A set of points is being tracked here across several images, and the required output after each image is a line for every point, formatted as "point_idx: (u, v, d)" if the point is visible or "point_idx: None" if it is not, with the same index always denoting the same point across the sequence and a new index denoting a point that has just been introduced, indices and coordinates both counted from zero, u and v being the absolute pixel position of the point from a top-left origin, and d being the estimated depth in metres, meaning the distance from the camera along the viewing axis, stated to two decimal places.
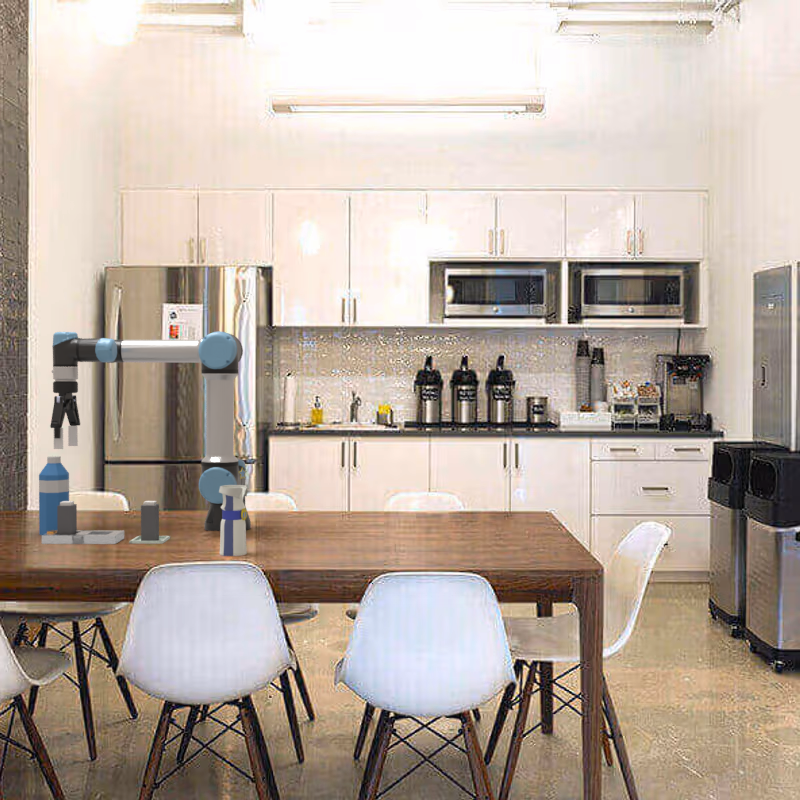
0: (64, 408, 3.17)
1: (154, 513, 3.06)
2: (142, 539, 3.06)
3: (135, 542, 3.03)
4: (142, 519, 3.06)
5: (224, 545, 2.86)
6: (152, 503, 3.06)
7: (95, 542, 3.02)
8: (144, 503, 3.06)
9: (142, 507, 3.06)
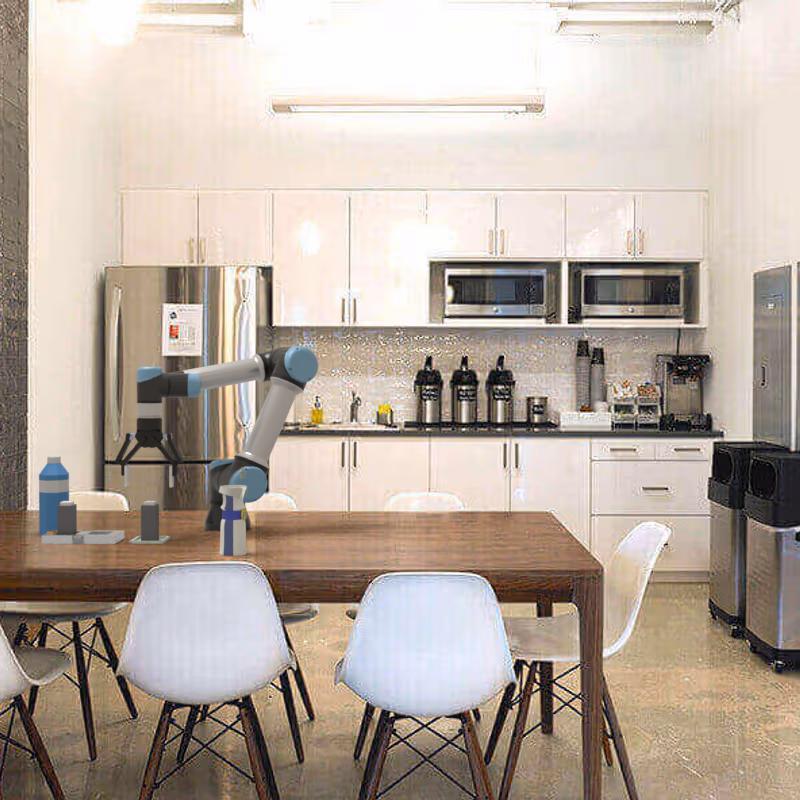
0: (135, 445, 3.06)
1: (154, 513, 3.06)
2: (142, 539, 3.06)
3: (135, 542, 3.03)
4: (142, 519, 3.06)
5: (224, 545, 2.86)
6: (152, 503, 3.06)
7: (95, 542, 3.02)
8: (144, 503, 3.06)
9: (142, 507, 3.06)
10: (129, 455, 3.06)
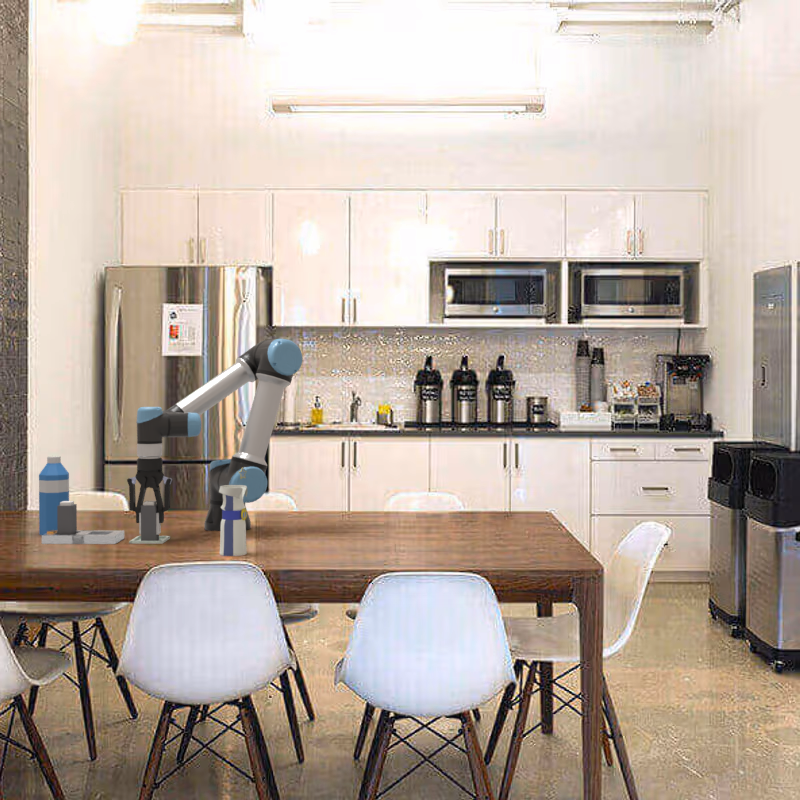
0: None
1: (154, 513, 3.06)
2: (142, 539, 3.06)
3: (135, 542, 3.03)
4: (142, 519, 3.06)
5: (224, 545, 2.86)
6: (152, 503, 3.06)
7: (95, 542, 3.02)
8: (144, 503, 3.06)
9: (142, 507, 3.06)
10: (139, 500, 3.07)
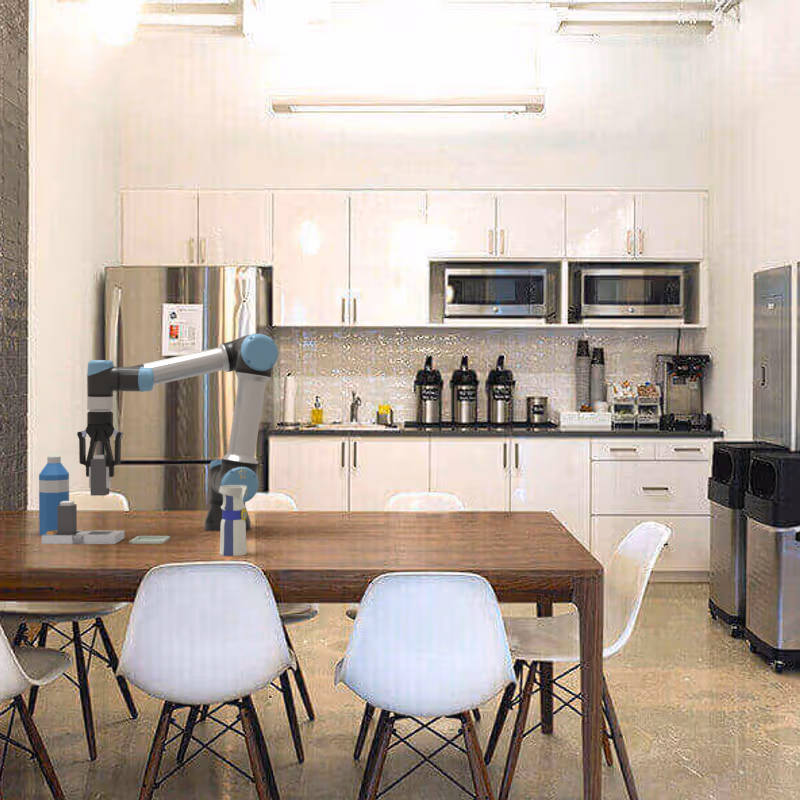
0: None
1: (104, 466, 3.04)
2: (92, 493, 3.05)
3: (135, 542, 3.03)
4: (92, 472, 3.04)
5: (224, 545, 2.86)
6: (102, 457, 3.05)
7: (95, 542, 3.02)
8: (94, 456, 3.05)
9: (92, 460, 3.04)
10: (89, 454, 3.05)
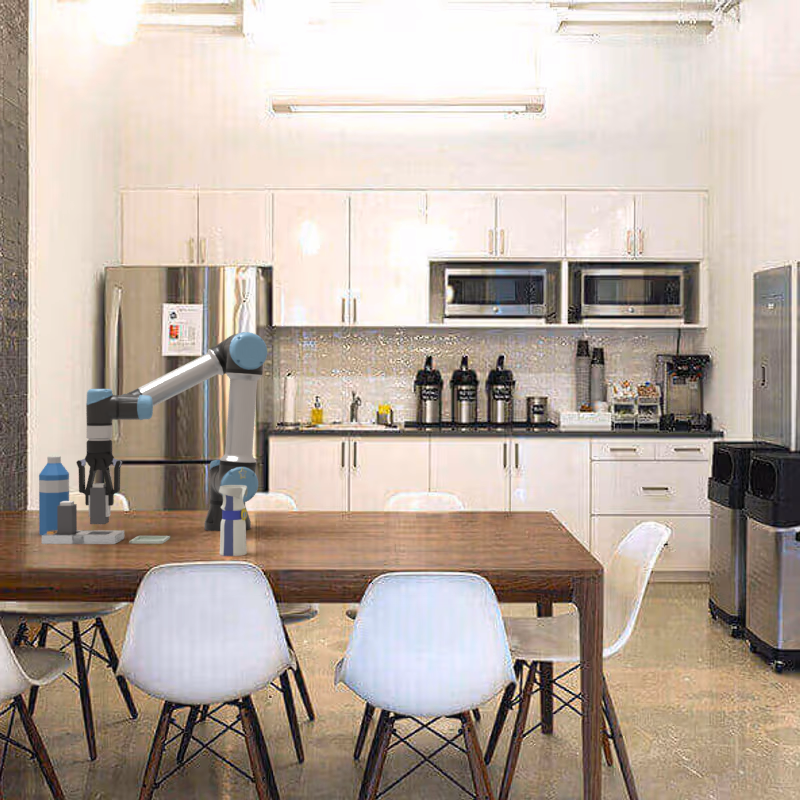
0: None
1: (103, 495, 3.05)
2: (91, 521, 3.05)
3: (135, 542, 3.03)
4: (91, 501, 3.05)
5: (224, 545, 2.86)
6: (101, 485, 3.05)
7: (95, 542, 3.02)
8: (93, 485, 3.05)
9: (91, 489, 3.05)
10: (89, 482, 3.06)
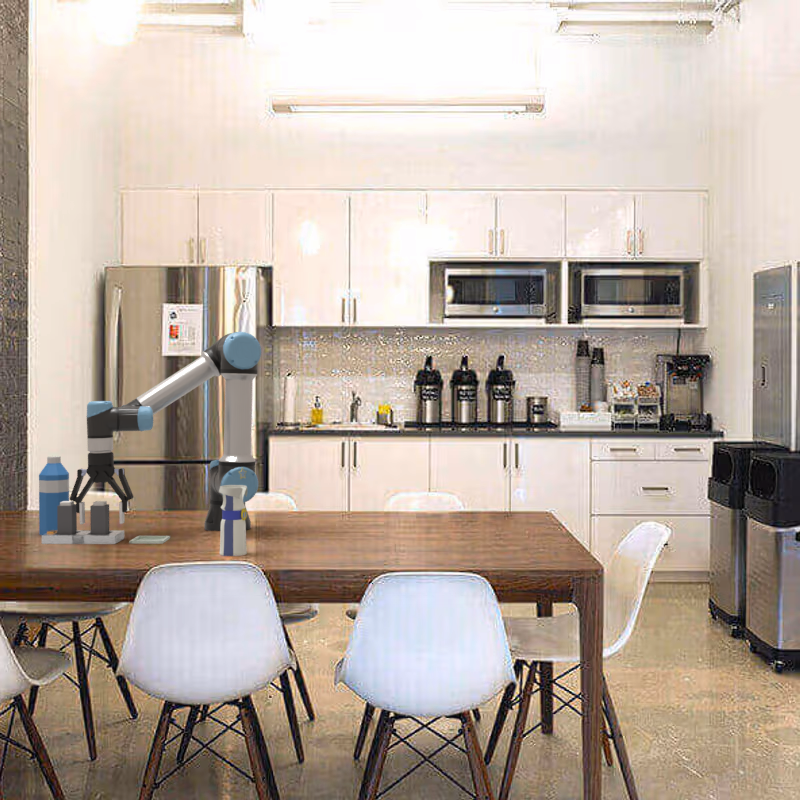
0: (88, 481, 3.06)
1: (104, 513, 3.05)
2: None
3: (135, 542, 3.03)
4: (92, 519, 3.05)
5: (224, 545, 2.86)
6: (102, 503, 3.05)
7: (95, 542, 3.02)
8: (94, 503, 3.05)
9: (92, 507, 3.05)
10: (83, 492, 3.06)
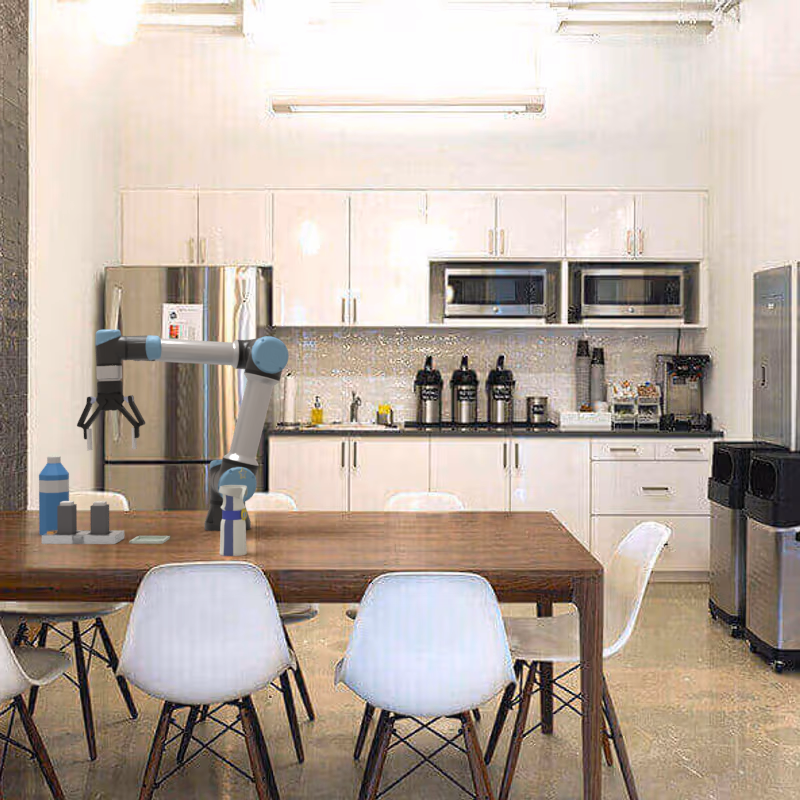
0: (96, 409, 3.08)
1: (104, 513, 3.05)
2: None
3: (135, 542, 3.03)
4: (92, 519, 3.05)
5: (224, 545, 2.86)
6: (102, 503, 3.05)
7: (95, 542, 3.02)
8: (94, 503, 3.05)
9: (92, 507, 3.05)
10: (91, 418, 3.08)
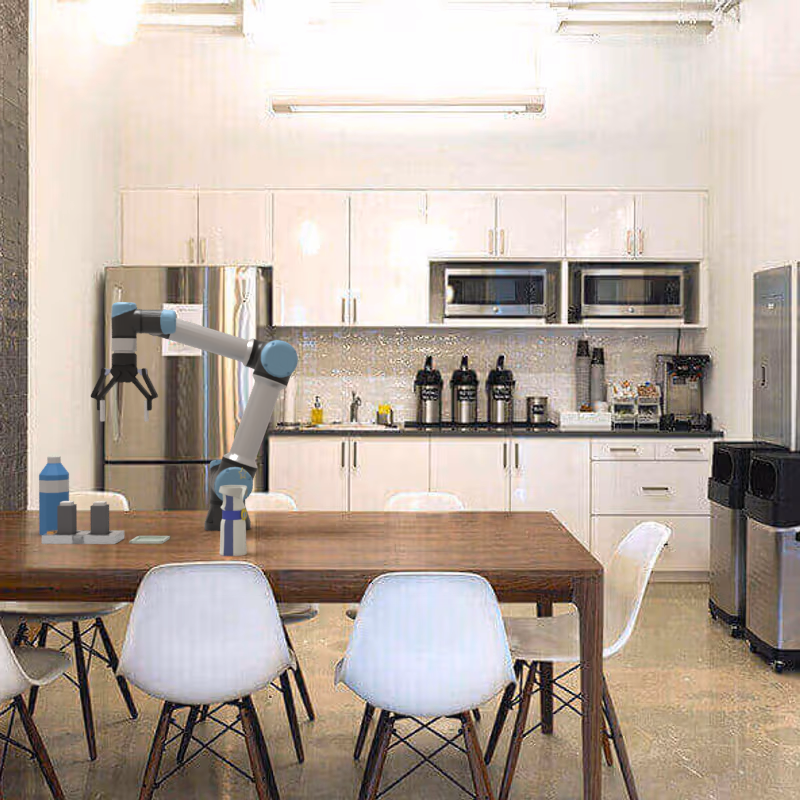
0: None
1: (104, 513, 3.05)
2: None
3: (135, 542, 3.03)
4: (92, 519, 3.05)
5: (224, 545, 2.86)
6: (102, 503, 3.05)
7: (95, 542, 3.02)
8: (94, 503, 3.05)
9: (92, 507, 3.05)
10: (104, 390, 3.11)
